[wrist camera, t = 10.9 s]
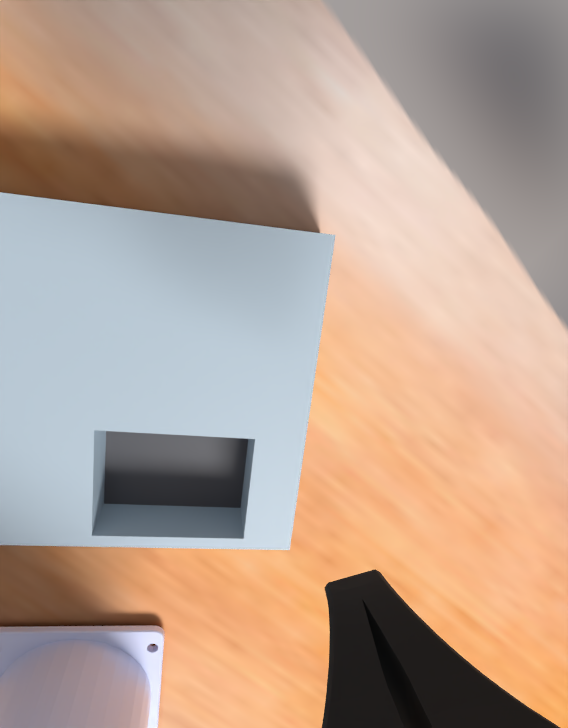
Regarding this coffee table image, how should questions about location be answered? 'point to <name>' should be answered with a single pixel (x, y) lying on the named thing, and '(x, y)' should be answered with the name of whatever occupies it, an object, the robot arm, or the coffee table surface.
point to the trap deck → (153, 376)
